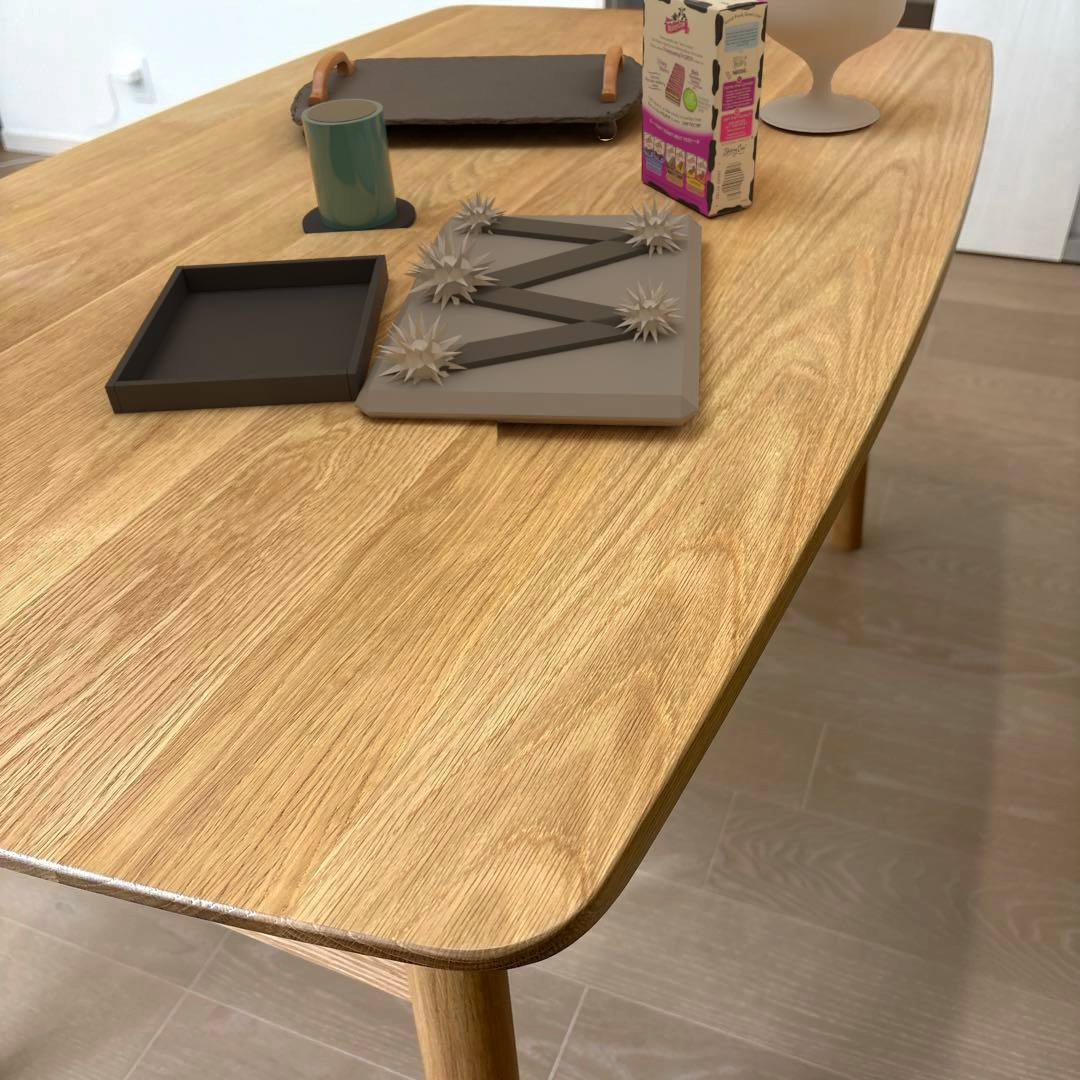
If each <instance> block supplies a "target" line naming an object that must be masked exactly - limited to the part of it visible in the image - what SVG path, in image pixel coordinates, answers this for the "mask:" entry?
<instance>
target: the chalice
mask: <svg viewBox="0 0 1080 1080" xmlns="http://www.w3.org/2000/svg"><path fill="white" fill-rule="evenodd" d="M764 1H768V8H767V22H766V35H767V36H768V37H769V38H770V39H772V41H774V42H776V43H778V44H779V45H781V46H783V47H784V48H786V49H787V50H788V51H790V52H792V53H794V54H795V55H796V56H798V57H799V58H800V59H802V60H803V61H804V62H805V63H806V65H808V67H809V70H810V72H811V75H812V85H811V89H810V90H809V91H808V92H807V93H797V94H796V93H795V94H790V95H785V96H780V97H777V98H774V99H772V100H769V101H768V102H766V103H765V104H763V106H760V107H761V108H759V118H760V119H761V120H762V121H764V123H765V122H766V123H767V124H769V125H771V126H774V127H777V128H780V129H784V130H789V131H795V132H804V133H836V132H837V133H839V132H847V131H852V130H857V129H861V128H864V127H867V126H870V125H872V124H874V123H875V122H877V121H878V120H879V118H880V116H881V112H880V110H879V109H878V108H877V106H875V105H874V104H873V103H872V102H870V101H869V100H865V99H863V98H860V97H856V96H852V95H847V94H839V93H834V91H833V90H832V80H833V77H834V74H835V73H836V72H837V70H838V68H840V66H841V65H842V64H843V63H844V62H845V61H846V60H848V59H849V58H851V57H853V56H854V55H856V54H858V53H860V52H862V51H864V50H865V49H868V48H869V47H871V46H873V45H875V44H877V43H879V42H881V41H882V40H884V39H885V38H886V37H888V36H889V35H890V34H892V32H893V31H894V30H895V29H896V28H897V26H898V25H899V23H900V21H901V19H902V18H903V16H904V13H905V12H906V11H905V10H906V5H907V0H764Z"/></svg>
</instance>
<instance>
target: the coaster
mask: <svg viewBox="0 0 1080 1080" xmlns="http://www.w3.org/2000/svg"><path fill="white" fill-rule="evenodd" d="M396 203H397V210H398V212H397V215H396V217H395V218H394V219H393V220H391V221H390V222H388V223H386V224H384V225H381V226H378V227H375V228H371V229H366V230H359V231H358V232H363V231H382V230H399V229H401V230H402V229H409V228H410V227H411V226H412V225H413V224H414V223H415V221H416V218H417V212H416V209H415V207H414V205H413V204H412V203H411V202H409V201H408V200H406V199H403V198H401V197H398V196H396ZM302 218H303V219H302V222H301V225H302V226H301V227H302V230H303V232H304V234H306V235H311V234H326V233H328V234H329V233H346V232H349V231H340V230H334V229H331V228H328V227H326V226H324V225H323V224H322V222H321V219H320V214H319V209H318V206H316V207H314V208H313V209H311V210H309V211H308V212H307V213H306V214H305V215H304V217H302Z"/></svg>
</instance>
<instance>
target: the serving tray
mask: <svg viewBox="0 0 1080 1080" xmlns="http://www.w3.org/2000/svg"><path fill="white" fill-rule="evenodd" d="M642 69H643V64H641V63H640V62H639V61H638V62H637V60H636V59H635V58H634V57H632V56H630V55H627V54H624V52H623V47H622V46H621V44H620V45H619V44H614V45H613V44H612V45H610V46H608V48H607V51H606V53H583V54H541V55H540V54H539V55H538V54H537V55H517V54H515V55H481V56H480V55H479V56H478V55H477V56H476V55H469V56H468V55H466V56H445V57H444V56H430V57H429V56H428V57H425V56H424V57H422V56H421V57H419V56H417V57H377V58H374V57H373V58H372V57H368V58H358V59H355V60H352V59H351V60H350V59H349V57H348V55H347V54H346V53H345V52H344V50H343V51H342V50H331V51H328V52H327V53H325V54H324V55H323V56H322V57H321V58H320V59H319V61H318V62H317V64H316V66H315V67H314V70H313V75H312V80H310V81H309V82H307V83H305V84H304V85H303V86H302V87H301V88H300V89H299V90H297V93H296V94H295V96H294V98H293V101H292V103H291V105H290V115H291V120H292V122H293V123H294V124H295V125H297V126H299V127H301V126H302V127H303V124H302V118H301V115H302V113H303V112H304V111H305V110H306V109H308V108H310V107H312V106H314V105H317V104H320V103H324V102H328V101H334V100H341V99H366V100H372V101H376V102H378V103H380V104H381V105H382V106H383V111H384V118H385V125H386V126H400V125H431V126H432V125H433V126H443V125H444V126H459V125H523V124H596V125H595V133H596V136H597V137H598V138H600V139H611V138H613V139H612V140H610V141H609V142H611V141H613V140H614V137H615V136H616V135H617V131H618V128H617V123H616V121H617V120H620V119H621V118H623V117H624V116H625V115H627V114H630V112H632V111H633V110H634V109H636V108H637V107H638V106H640V104H642ZM301 132H302V136H303V138H304V139H305V134H304V129H303V128H302V130H301ZM600 139H599V141H601V142H603V141H602V140H600Z"/></svg>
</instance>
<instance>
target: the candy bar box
mask: <svg viewBox="0 0 1080 1080" xmlns="http://www.w3.org/2000/svg"><path fill="white" fill-rule="evenodd" d="M642 3H643V4H642V5H643V6H642V8H643V9H642V12H643V14H642V16H643V17H642V18H643V19H642V66H643V69H642V102H641V160H640V161H641V166H640V167H641V173H640V174H641V175H640V180H641V182H642V183H644V184H646V185H648V186H649V185H650V187H651V186H652V187H651V188H653V187H654V188H653V189H655V190H657V191H659V192H661V193H662V192H663V193H662V194H664V193H665V195H666V196H668V195H669V196H668V197H670V198H671V199H674V200H675V201H677V200H678V202H679V201H680V202H679V203H681V202H682V204H683V203H684V204H683V205H685V206H687V207H688V208H691V209H693V210H694V209H695V211H697V212H699V213H700V214H702V215H704V216H706V217H708V218H711V217H715V216H720V215H724V214H729V213H732V211H733V212H735V211H740V210H743V208H744V209H747V208H750V207H752V206H753V204H754V203H753V200H754V189H755V188H754V187H755V175H756V174H755V173H756V162H757V150H758V149H757V148H758V134H759V133H758V132H759V125H760V124H759V123H760V116H759V110H760V109H761V108H760V107H761V106H760V105H761V97H762V85H763V73H764V58H765V48H766V35H767V33H766V22H767V8H768V1H764V0H643V1H642Z"/></svg>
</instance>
